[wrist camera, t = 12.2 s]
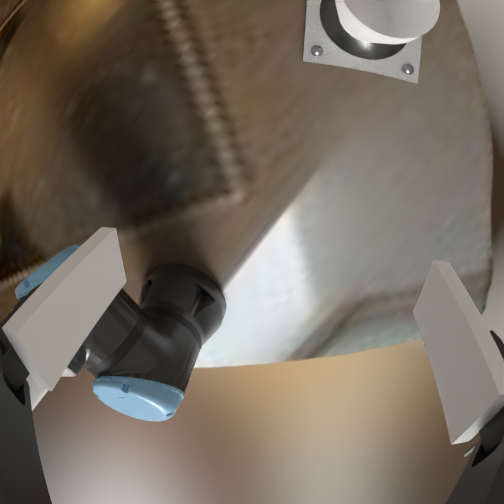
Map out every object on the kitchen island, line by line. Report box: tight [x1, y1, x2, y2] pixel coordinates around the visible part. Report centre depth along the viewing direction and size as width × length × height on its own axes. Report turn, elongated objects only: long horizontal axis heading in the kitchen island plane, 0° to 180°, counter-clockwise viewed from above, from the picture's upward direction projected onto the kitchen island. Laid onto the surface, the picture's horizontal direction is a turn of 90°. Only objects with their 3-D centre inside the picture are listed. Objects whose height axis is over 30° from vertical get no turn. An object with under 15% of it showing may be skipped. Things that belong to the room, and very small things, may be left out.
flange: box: [303, 0, 422, 84], centre depth 26 cm, size 14×14×2 cm
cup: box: [335, 0, 440, 44], centre depth 21 cm, size 9×9×12 cm
